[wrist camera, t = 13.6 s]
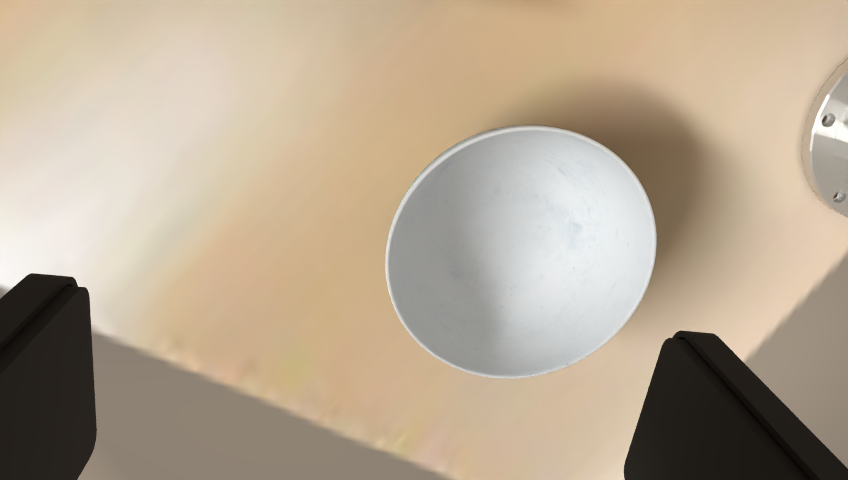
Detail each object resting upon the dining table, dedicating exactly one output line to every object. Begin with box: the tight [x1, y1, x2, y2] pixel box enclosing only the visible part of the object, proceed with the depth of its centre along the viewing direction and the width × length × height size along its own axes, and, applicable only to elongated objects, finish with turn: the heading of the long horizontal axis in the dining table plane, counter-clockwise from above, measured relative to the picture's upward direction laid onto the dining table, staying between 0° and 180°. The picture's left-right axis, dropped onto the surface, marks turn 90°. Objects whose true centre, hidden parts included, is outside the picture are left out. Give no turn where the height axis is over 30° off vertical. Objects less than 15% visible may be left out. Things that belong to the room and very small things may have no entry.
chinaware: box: [385, 125, 657, 379], centre depth 39 cm, size 15×15×8 cm
